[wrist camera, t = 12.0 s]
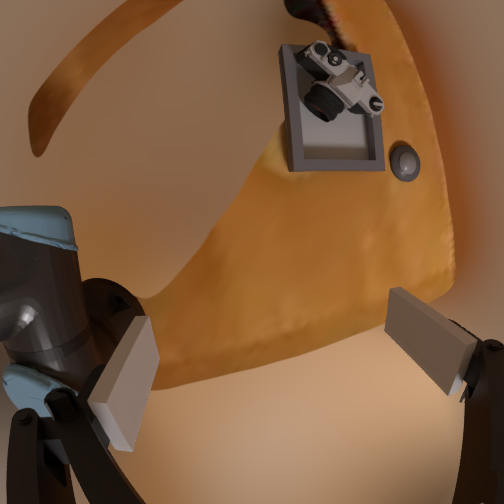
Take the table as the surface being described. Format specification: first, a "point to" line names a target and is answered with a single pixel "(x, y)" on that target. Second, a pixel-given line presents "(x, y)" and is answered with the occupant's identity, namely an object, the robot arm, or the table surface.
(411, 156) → the lens cap
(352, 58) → the case tray
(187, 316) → the table surface
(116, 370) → the robot arm
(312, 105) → the camera
